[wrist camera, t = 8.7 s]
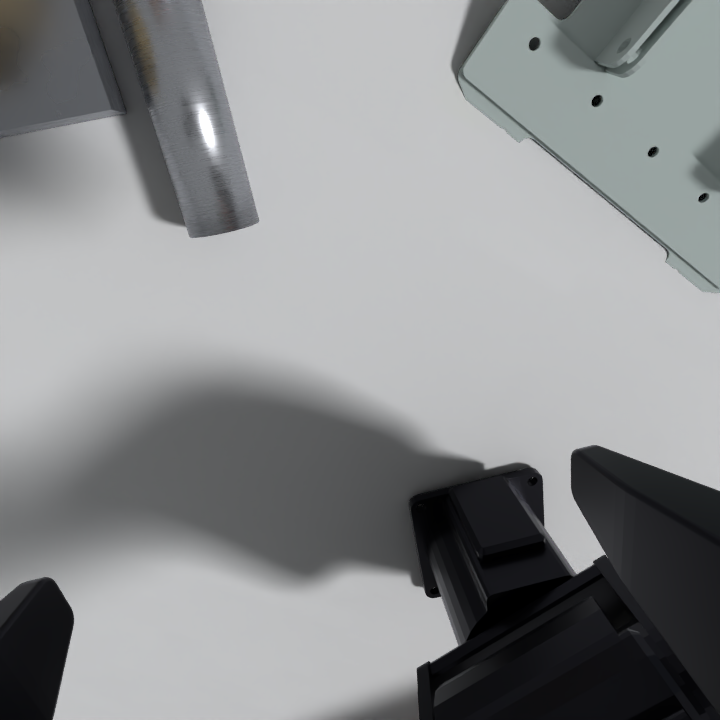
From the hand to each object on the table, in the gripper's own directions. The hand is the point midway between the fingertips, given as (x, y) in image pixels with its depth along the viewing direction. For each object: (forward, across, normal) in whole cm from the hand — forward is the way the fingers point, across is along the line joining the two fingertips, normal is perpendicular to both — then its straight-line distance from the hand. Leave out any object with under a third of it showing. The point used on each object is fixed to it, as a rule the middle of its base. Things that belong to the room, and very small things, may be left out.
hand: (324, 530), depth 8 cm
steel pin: (+12, +2, -8) cm, 15 cm away
